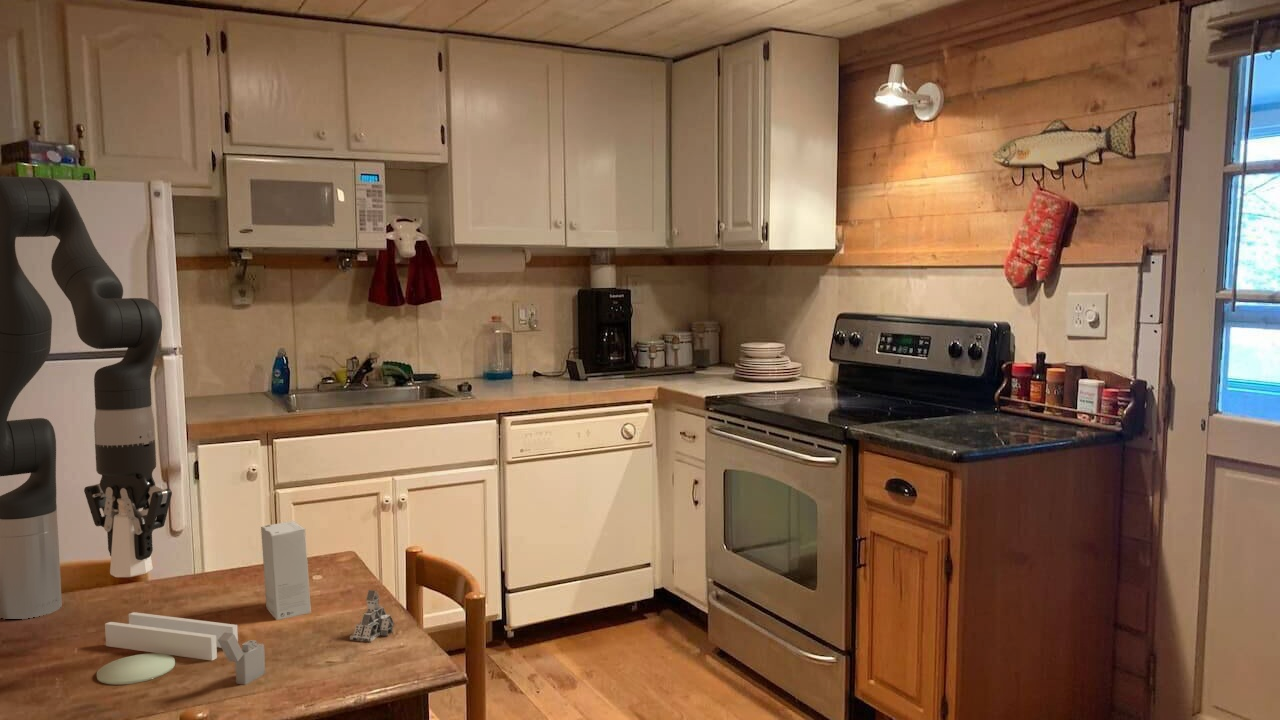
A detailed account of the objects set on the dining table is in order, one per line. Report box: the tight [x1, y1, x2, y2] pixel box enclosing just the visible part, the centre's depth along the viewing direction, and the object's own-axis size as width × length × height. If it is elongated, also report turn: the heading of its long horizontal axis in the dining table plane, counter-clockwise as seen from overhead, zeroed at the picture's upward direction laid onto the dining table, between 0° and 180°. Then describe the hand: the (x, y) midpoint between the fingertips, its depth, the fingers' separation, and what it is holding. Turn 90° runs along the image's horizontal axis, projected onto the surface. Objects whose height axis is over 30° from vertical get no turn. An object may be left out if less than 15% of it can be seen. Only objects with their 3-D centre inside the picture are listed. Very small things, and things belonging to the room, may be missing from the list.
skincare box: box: [260, 520, 312, 621], centre depth 160 cm, size 8×6×15 cm
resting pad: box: [96, 652, 176, 686], centre depth 136 cm, size 10×10×1 cm
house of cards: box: [349, 589, 395, 643], centre depth 148 cm, size 9×9×8 cm
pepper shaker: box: [109, 498, 154, 578], centre depth 135 cm, size 5×5×11 cm
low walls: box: [104, 611, 239, 661], centre depth 145 cm, size 20×6×4 cm, turn 73°
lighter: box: [218, 632, 266, 685], centre depth 132 cm, size 7×2×8 cm, turn 161°
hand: (130, 556), depth 135 cm, fingers closed on pepper shaker, 4 cm apart
